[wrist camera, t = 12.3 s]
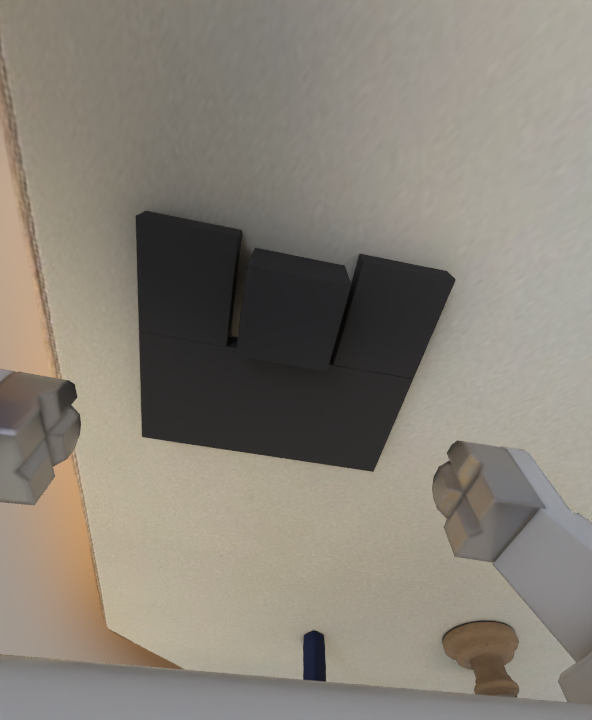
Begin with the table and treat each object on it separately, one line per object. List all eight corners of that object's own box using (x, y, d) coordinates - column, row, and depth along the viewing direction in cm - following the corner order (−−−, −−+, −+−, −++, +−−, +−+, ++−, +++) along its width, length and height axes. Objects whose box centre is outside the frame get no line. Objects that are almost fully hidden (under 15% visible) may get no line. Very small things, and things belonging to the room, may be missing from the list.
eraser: (313, 641, 47) (315, 712, 41) (301, 634, 46) (301, 706, 41) (326, 635, 46) (329, 707, 41) (314, 629, 46) (316, 701, 40)
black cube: (243, 329, 25) (235, 356, 22) (254, 247, 22) (247, 265, 19) (323, 343, 25) (327, 372, 22) (344, 265, 22) (351, 285, 19)
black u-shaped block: (148, 424, 29) (141, 437, 28) (145, 210, 21) (135, 215, 20) (370, 457, 31) (373, 472, 29) (447, 271, 22) (456, 279, 21)
